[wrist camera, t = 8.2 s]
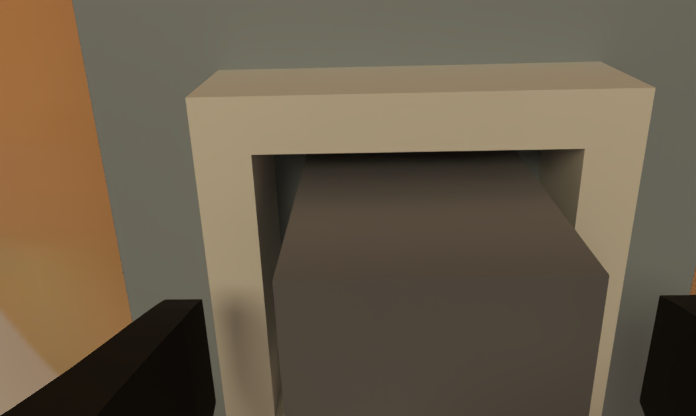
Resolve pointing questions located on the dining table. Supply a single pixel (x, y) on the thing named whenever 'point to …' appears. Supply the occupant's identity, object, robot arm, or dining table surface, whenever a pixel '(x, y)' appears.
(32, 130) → the dining table surface
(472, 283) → the plug
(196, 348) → the robot arm
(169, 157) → the socket
